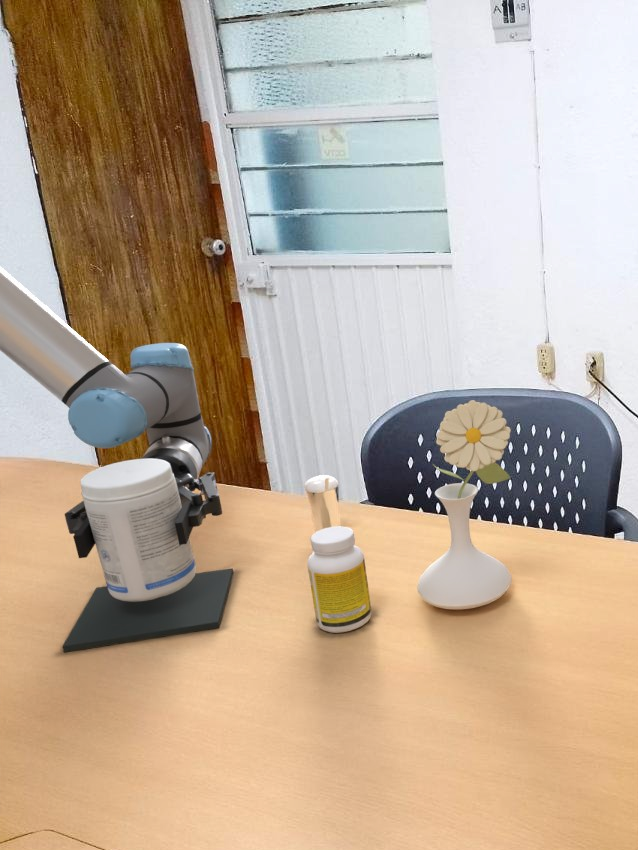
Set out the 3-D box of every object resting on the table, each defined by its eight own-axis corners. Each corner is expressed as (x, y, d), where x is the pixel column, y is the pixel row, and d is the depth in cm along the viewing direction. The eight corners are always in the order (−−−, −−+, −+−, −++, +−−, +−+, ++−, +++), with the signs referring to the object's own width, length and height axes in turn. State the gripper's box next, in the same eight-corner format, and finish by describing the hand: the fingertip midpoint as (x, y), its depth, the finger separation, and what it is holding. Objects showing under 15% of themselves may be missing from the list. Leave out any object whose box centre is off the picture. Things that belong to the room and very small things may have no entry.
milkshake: (320, 549, 115) (310, 482, 111) (308, 536, 119) (297, 471, 115) (352, 540, 117) (343, 474, 114) (339, 527, 121) (330, 463, 118)
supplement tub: (204, 562, 105) (181, 453, 100) (189, 598, 97) (164, 481, 92) (120, 572, 103) (92, 462, 98) (97, 610, 94) (66, 491, 89)
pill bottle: (383, 617, 97) (372, 532, 93) (337, 640, 93) (324, 551, 89) (351, 601, 101) (340, 518, 97) (306, 623, 96) (292, 536, 93)
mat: (63, 652, 92) (61, 646, 91) (97, 593, 104) (96, 587, 104) (219, 627, 96) (217, 621, 96) (233, 573, 108) (232, 567, 108)
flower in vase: (400, 611, 98) (376, 410, 90) (445, 567, 108) (427, 383, 100) (502, 627, 94) (487, 418, 86) (538, 580, 105) (528, 389, 96)
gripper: (70, 456, 109) (9, 523, 89) (249, 437, 115) (231, 496, 95) (83, 508, 112) (27, 585, 91) (258, 487, 118) (242, 555, 97)
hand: (131, 540), depth 93 cm, fingers closed on supplement tub, 9 cm apart
